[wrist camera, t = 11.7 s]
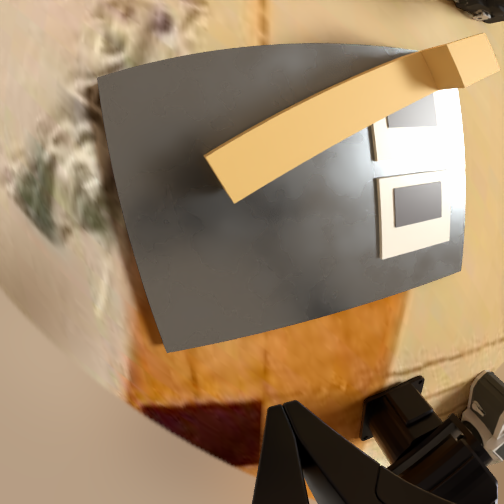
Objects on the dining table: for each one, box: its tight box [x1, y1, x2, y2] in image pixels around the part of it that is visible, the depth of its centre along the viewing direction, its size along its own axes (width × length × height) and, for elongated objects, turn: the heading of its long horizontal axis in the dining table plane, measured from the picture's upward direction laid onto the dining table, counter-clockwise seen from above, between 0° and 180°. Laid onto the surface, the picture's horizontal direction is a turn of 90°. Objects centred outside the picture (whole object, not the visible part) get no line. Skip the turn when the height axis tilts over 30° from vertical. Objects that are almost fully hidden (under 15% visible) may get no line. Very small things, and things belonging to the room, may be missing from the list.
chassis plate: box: [97, 43, 465, 353], centre depth 17 cm, size 16×22×1 cm
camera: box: [456, 370, 504, 466], centre depth 27 cm, size 16×9×10 cm, turn 24°
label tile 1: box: [376, 169, 450, 260], centre depth 18 cm, size 5×6×1 cm
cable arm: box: [203, 33, 500, 204], centre depth 13 cm, size 16×2×5 cm, turn 120°
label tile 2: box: [371, 90, 449, 162], centre depth 16 cm, size 5×6×1 cm
